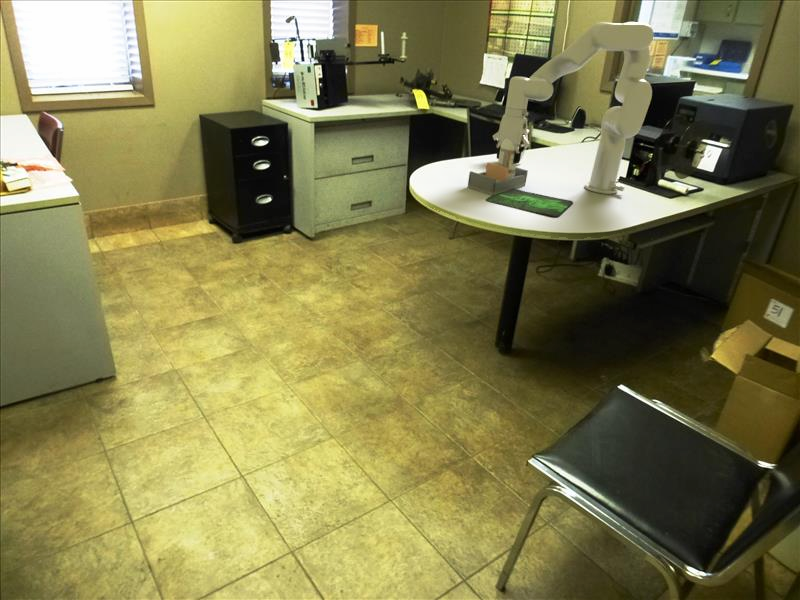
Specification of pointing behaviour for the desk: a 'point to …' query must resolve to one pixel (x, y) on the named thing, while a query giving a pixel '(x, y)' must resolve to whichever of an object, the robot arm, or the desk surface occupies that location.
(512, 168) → the bath foam
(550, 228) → the desk surface
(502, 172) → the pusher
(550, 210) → the mouse mat
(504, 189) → the grey open box
